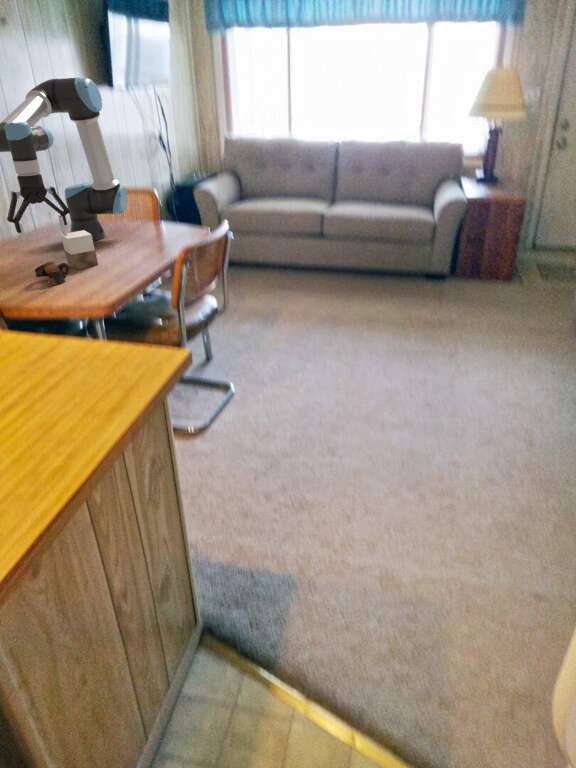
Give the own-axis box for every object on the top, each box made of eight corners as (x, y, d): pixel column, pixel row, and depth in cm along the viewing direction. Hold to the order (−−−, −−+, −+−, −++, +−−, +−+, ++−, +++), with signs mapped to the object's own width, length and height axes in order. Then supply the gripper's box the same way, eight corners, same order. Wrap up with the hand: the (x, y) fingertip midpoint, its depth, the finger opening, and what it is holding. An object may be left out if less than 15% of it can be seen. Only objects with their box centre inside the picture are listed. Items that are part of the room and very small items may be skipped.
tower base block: (90, 260, 219) (87, 245, 216) (98, 265, 213) (95, 250, 210) (68, 264, 215) (64, 249, 212) (75, 270, 208) (71, 254, 205)
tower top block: (87, 245, 216) (84, 230, 213) (94, 250, 210) (91, 234, 207) (64, 249, 212) (60, 234, 209) (71, 254, 205) (67, 238, 202)
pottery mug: (44, 290, 191) (31, 268, 189) (45, 293, 200) (33, 273, 198) (75, 274, 194) (63, 253, 193) (76, 279, 203) (64, 259, 202)
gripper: (63, 168, 189) (77, 230, 199) (-15, 177, 176) (4, 243, 186) (70, 170, 184) (84, 233, 194) (-10, 179, 171) (9, 247, 181)
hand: (45, 238), depth 190 cm, fingers open, 13 cm apart
